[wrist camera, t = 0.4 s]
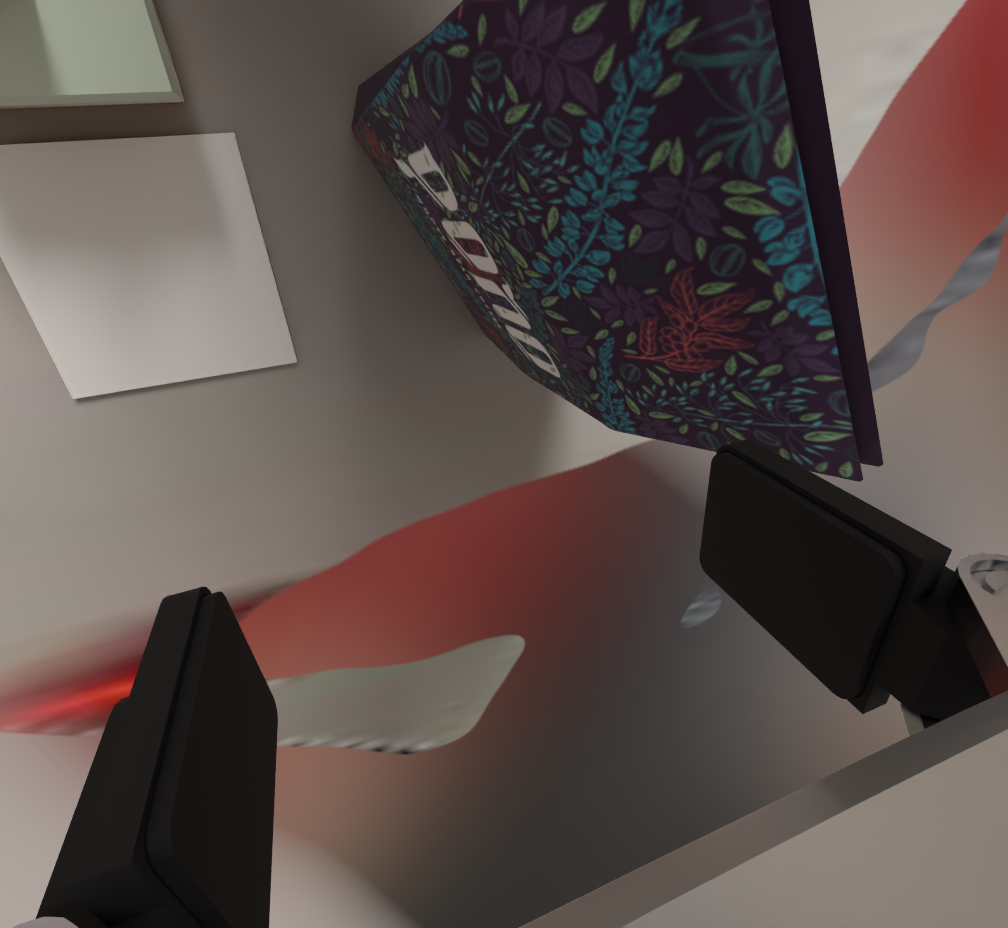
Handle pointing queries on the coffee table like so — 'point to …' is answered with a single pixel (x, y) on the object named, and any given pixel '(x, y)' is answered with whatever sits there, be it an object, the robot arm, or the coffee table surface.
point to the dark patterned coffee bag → (641, 213)
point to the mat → (141, 260)
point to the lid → (82, 53)
